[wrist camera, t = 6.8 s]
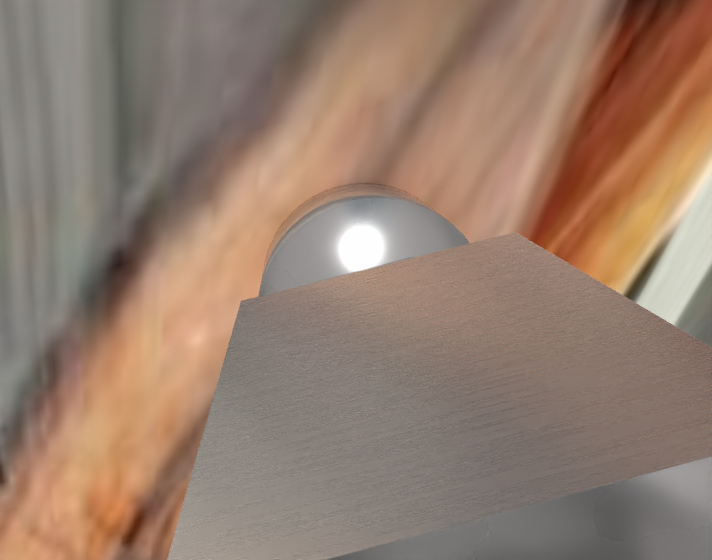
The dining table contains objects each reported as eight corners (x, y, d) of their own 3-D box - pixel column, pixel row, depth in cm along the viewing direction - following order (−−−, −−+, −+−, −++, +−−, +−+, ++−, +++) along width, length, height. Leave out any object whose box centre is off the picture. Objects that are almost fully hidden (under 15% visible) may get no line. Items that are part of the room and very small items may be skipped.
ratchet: (512, 595, 24) (602, 798, 17) (371, 635, 24) (403, 857, 17) (441, 160, 17) (546, 201, 10) (236, 211, 17) (195, 291, 10)
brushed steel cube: (541, 454, 12) (785, 806, 6) (312, 515, 12) (328, 938, 6) (515, 232, 10) (838, 422, 4) (240, 301, 10) (154, 605, 4)
